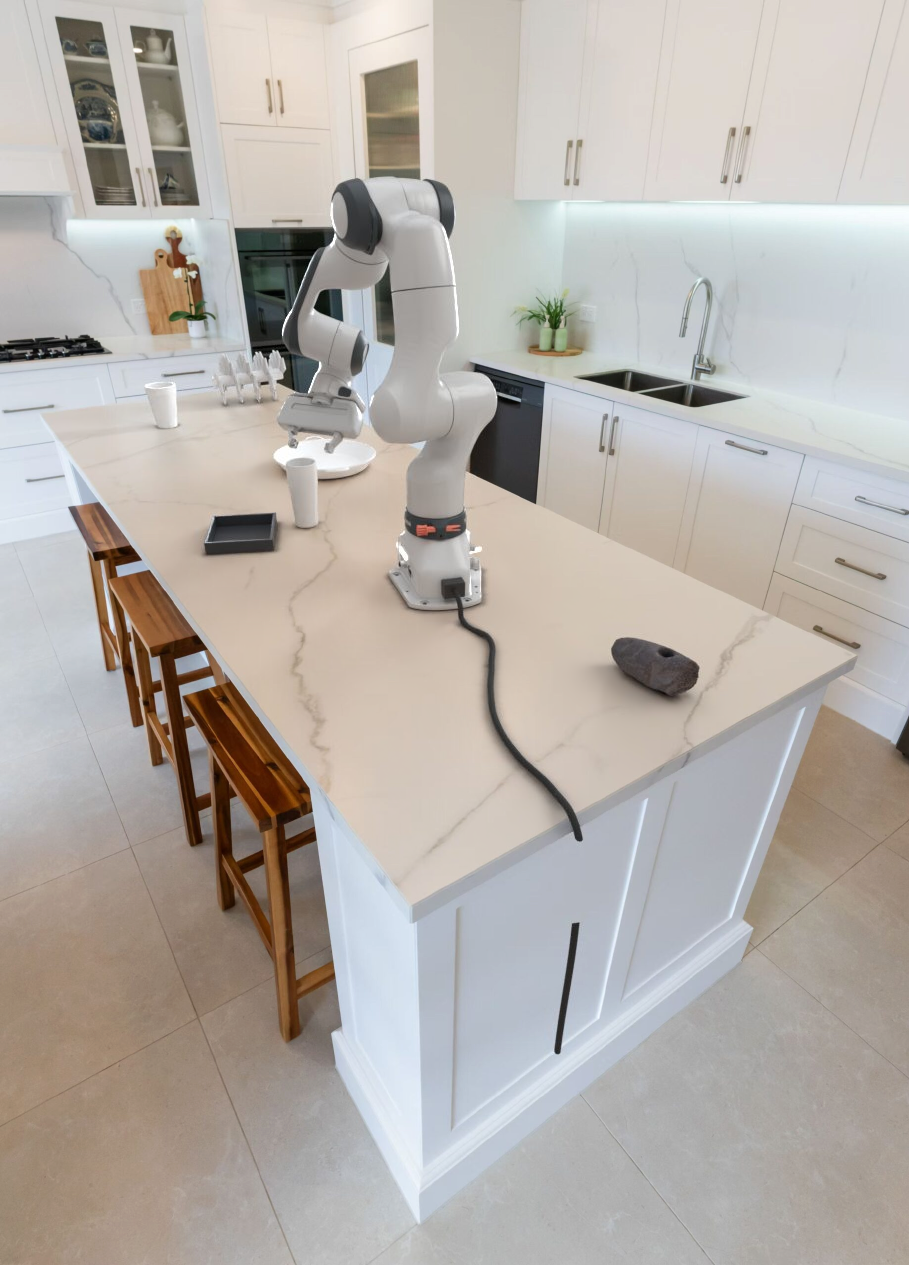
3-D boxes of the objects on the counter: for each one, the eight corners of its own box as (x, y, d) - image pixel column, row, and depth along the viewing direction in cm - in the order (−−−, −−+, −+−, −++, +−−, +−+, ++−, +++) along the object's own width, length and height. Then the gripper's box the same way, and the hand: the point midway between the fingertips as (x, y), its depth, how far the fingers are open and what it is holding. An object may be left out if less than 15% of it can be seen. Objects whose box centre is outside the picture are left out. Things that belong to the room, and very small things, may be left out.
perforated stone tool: (600, 666, 121) (605, 630, 117) (620, 655, 124) (626, 620, 120) (676, 709, 111) (684, 671, 108) (697, 696, 114) (705, 658, 110)
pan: (392, 480, 199) (391, 464, 197) (286, 492, 190) (285, 476, 188) (359, 445, 226) (358, 431, 223) (265, 455, 217) (263, 440, 214)
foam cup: (153, 423, 245) (145, 382, 239) (182, 421, 248) (175, 381, 241) (152, 430, 238) (144, 389, 231) (182, 428, 240) (175, 387, 233)
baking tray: (274, 550, 159) (272, 539, 157) (206, 554, 157) (204, 543, 155) (277, 523, 172) (275, 512, 171) (214, 526, 170) (212, 515, 169)
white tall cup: (315, 531, 168) (309, 467, 160) (287, 528, 169) (280, 465, 162) (325, 520, 174) (320, 458, 166) (298, 518, 175) (292, 456, 167)
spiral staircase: (217, 413, 272) (283, 403, 281) (222, 402, 256) (292, 391, 265) (203, 363, 269) (270, 354, 279) (208, 348, 253) (279, 340, 262)
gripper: (283, 383, 169) (263, 437, 167) (362, 392, 163) (343, 447, 160) (295, 399, 175) (277, 451, 172) (372, 408, 169) (354, 462, 166)
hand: (309, 449), depth 166 cm, fingers open, 8 cm apart
